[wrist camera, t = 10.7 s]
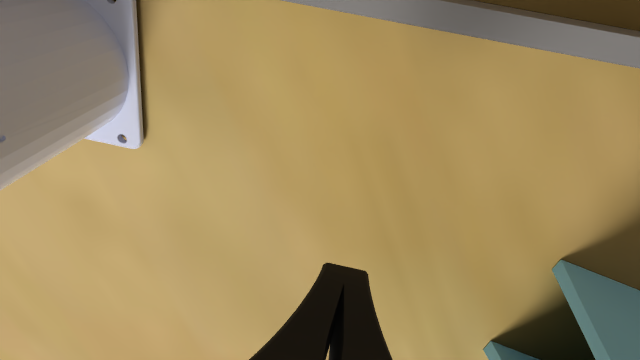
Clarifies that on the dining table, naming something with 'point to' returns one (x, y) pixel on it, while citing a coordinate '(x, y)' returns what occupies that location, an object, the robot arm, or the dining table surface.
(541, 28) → the grey piece
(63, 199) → the dining table surface
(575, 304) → the light blue tall block
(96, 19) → the robot arm
